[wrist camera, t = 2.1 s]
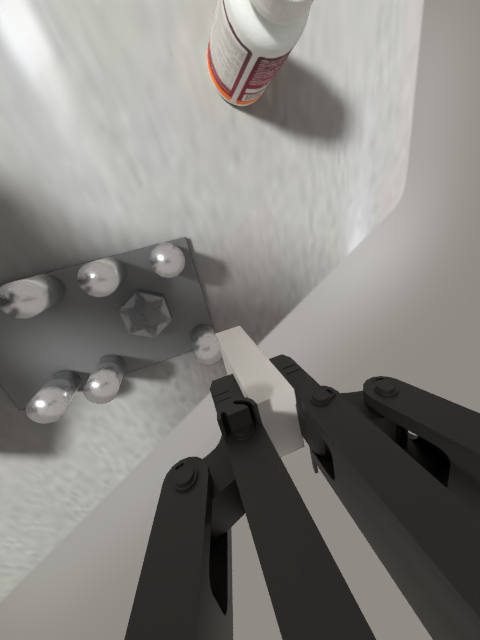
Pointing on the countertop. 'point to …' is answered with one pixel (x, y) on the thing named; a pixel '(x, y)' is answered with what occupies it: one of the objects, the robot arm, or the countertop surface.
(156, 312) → the nut
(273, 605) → the robot arm
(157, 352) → the mat
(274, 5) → the pill bottle
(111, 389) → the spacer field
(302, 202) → the countertop surface
